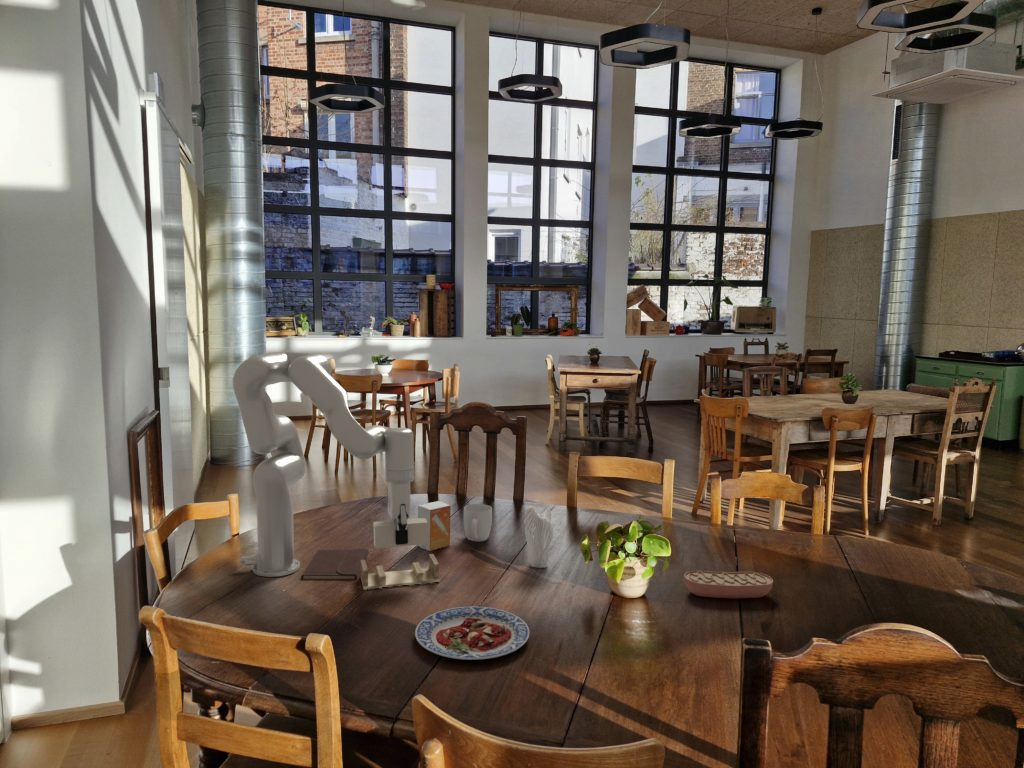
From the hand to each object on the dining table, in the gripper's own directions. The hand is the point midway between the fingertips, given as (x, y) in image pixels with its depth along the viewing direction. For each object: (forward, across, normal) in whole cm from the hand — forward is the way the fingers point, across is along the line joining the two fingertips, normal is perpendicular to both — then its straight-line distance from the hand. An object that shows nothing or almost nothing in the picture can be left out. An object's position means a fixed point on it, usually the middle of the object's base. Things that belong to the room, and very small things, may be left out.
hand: (400, 540), depth 200 cm
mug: (+11, -26, +28) cm, 40 cm away
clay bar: (+1, 0, 0) cm, 1 cm away
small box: (+11, -24, +14) cm, 30 cm away
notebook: (+12, -15, -16) cm, 25 cm away
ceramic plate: (+12, +38, +11) cm, 41 cm away
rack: (+11, 0, 0) cm, 11 cm away
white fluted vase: (+12, -1, +40) cm, 41 cm away
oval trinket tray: (+12, +31, +81) cm, 88 cm away
